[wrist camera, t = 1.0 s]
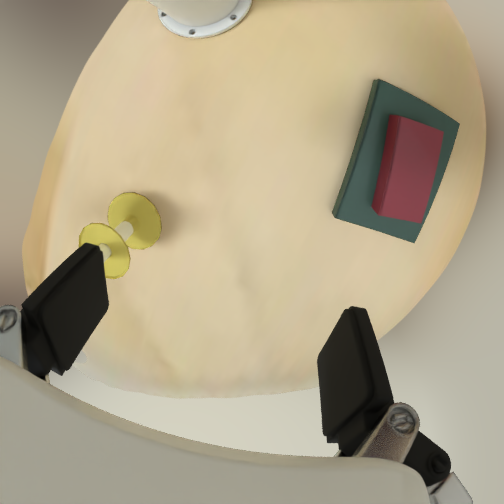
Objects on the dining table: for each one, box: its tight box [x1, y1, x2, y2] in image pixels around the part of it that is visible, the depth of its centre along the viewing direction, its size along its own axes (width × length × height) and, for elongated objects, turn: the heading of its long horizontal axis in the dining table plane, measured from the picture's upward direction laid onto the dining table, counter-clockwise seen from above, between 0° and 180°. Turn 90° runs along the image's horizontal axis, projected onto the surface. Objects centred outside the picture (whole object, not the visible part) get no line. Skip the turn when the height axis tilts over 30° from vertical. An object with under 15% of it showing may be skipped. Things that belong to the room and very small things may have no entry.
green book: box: [332, 79, 460, 243], centre depth 32 cm, size 20×14×2 cm
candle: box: [79, 193, 162, 279], centre depth 29 cm, size 10×10×27 cm
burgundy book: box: [371, 115, 444, 223], centre depth 30 cm, size 13×7×3 cm, turn 175°
